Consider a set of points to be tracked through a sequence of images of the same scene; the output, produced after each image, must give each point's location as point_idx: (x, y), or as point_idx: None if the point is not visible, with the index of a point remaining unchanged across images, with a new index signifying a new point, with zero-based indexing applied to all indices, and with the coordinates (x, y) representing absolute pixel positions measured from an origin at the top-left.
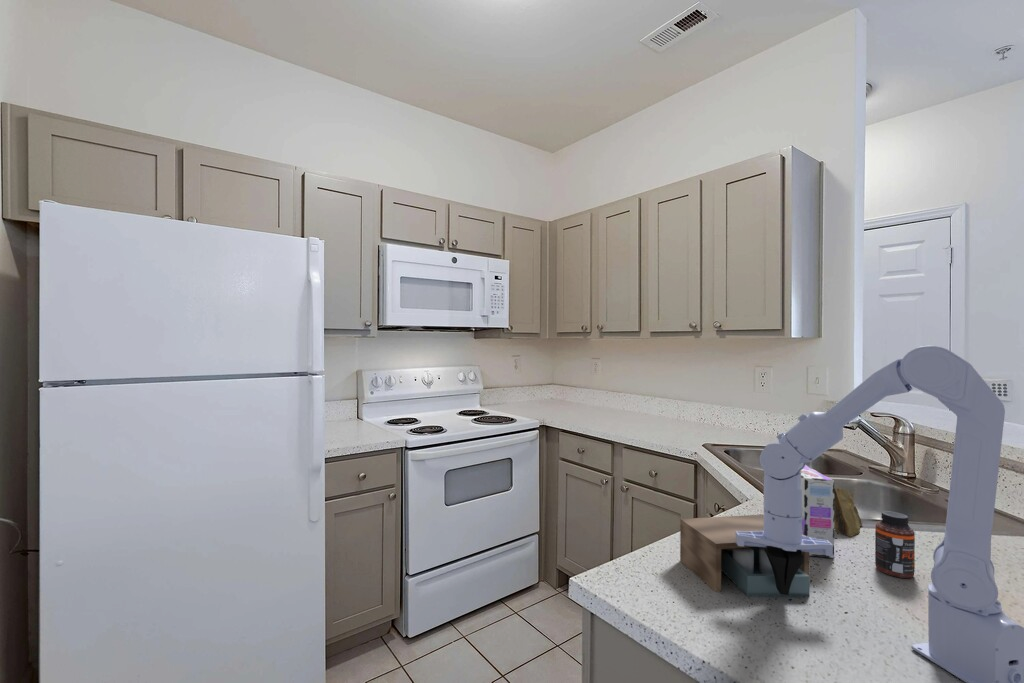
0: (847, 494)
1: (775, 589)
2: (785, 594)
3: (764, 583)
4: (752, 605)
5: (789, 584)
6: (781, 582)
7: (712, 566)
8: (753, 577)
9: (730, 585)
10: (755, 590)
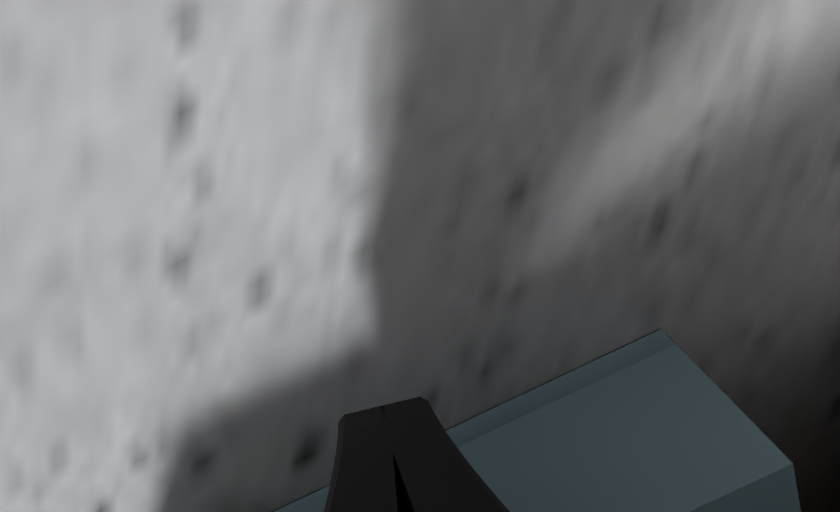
0: None
1: None
2: None
3: (564, 484)
4: (662, 186)
5: (346, 499)
6: (451, 484)
7: None
8: (715, 481)
9: None
10: (618, 394)
